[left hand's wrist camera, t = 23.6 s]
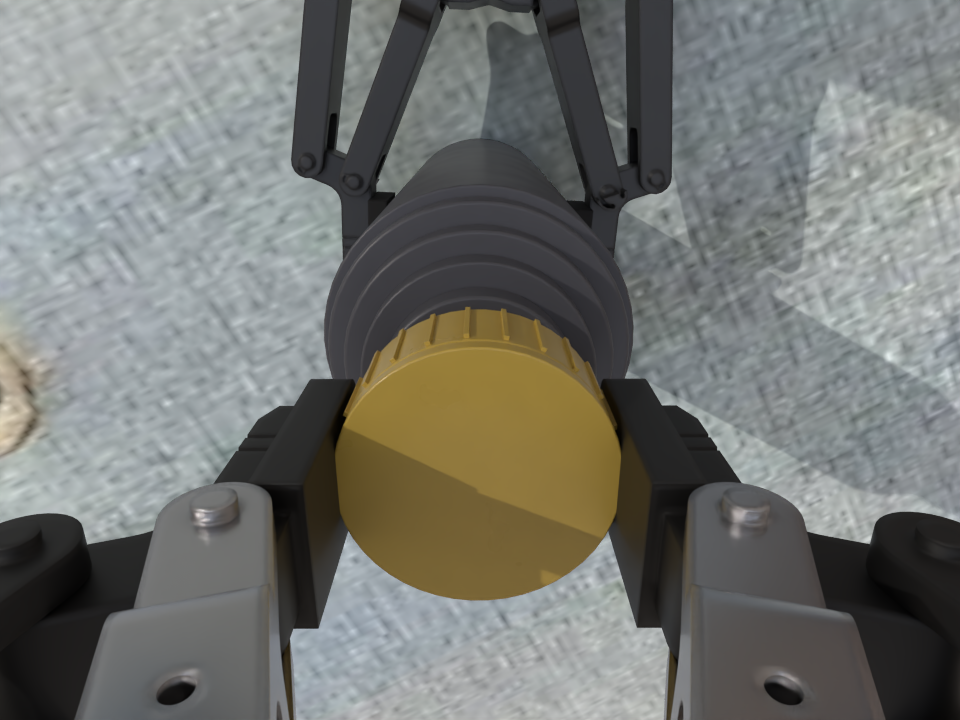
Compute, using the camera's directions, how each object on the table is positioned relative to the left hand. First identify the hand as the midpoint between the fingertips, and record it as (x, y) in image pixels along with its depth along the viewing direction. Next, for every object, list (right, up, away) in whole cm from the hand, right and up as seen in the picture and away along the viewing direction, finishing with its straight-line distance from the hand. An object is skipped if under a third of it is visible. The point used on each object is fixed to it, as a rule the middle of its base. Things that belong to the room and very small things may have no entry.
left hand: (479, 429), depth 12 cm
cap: (0, -1, -2) cm, 2 cm away
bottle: (0, +9, +22) cm, 24 cm away
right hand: (0, +2, +18) cm, 18 cm away
